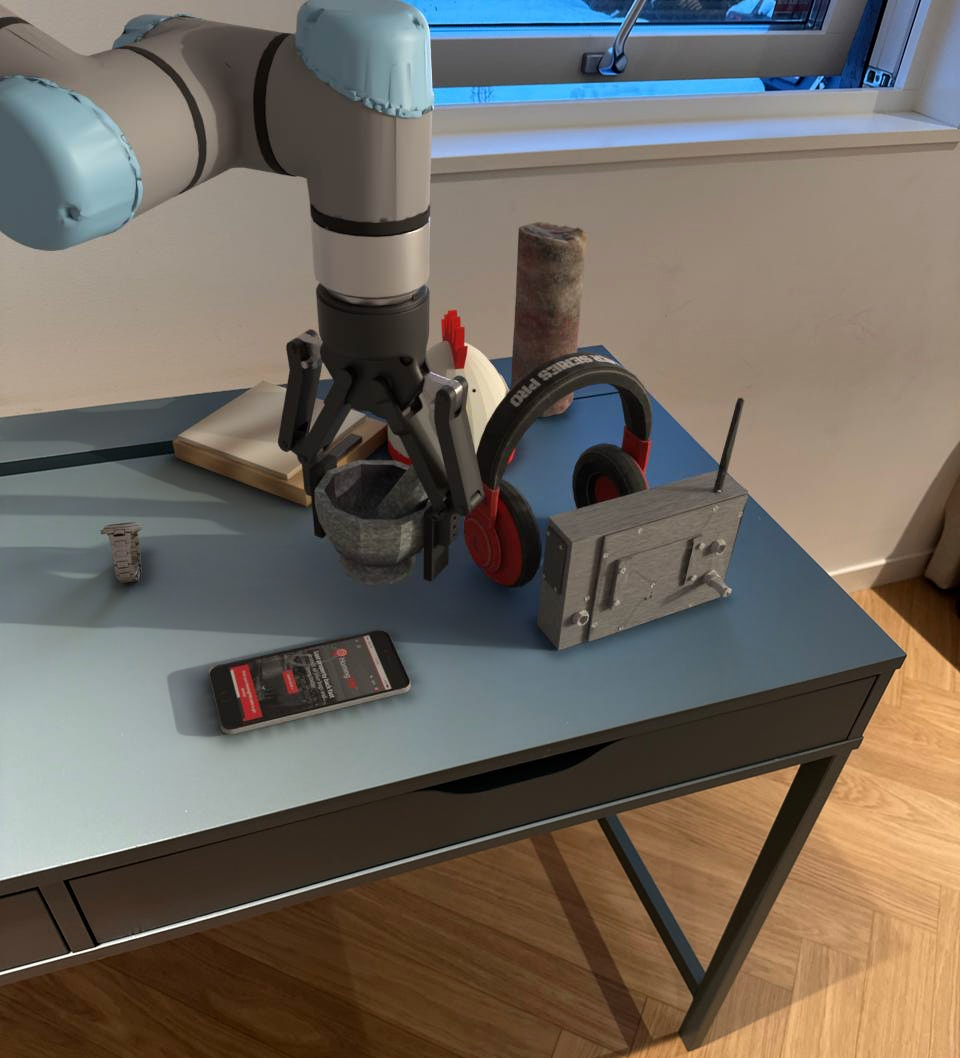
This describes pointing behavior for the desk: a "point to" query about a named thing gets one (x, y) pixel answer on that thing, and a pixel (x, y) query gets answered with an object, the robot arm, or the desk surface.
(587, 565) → the electronic device
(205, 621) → the desk surface
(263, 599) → the desk surface
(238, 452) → the scale
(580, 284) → the brown stone cylinder
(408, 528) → the mortar and pestle
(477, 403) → the kitchen timer
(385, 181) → the robot arm
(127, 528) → the wristwatch
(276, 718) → the smartphone
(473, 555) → the headphones
